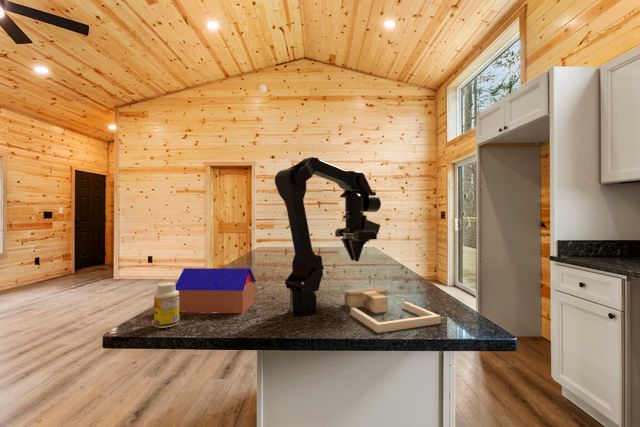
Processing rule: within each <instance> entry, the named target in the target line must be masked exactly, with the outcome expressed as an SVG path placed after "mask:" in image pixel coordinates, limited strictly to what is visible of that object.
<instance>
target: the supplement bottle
mask: <svg viewBox="0 0 640 427" xmlns="http://www.w3.org/2000/svg"><path fill="white" fill-rule="evenodd" d="M175 289H176V283H175V282H170V281H169V282H168V281H167V282H161V283H159V284H157V291H156V292H155V293H154V294H153V305H154V306H153V309H154V310H153V313H154V314H153V315H154V317H153V318H154V322H153V324H154V327H155V328H156V327H158V328H157V329H159V328H166V329H168V328H167V327H171V328H173V327H172V326H174V327H176V326H178V325H179V323H180V313H179V291H177V290H175ZM177 324H178V325H177ZM175 325H176V326H175Z"/></svg>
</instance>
